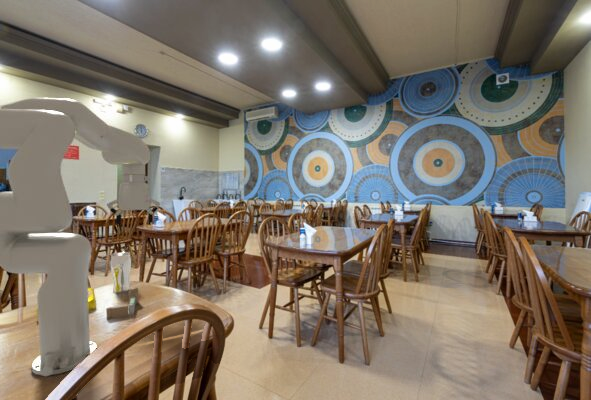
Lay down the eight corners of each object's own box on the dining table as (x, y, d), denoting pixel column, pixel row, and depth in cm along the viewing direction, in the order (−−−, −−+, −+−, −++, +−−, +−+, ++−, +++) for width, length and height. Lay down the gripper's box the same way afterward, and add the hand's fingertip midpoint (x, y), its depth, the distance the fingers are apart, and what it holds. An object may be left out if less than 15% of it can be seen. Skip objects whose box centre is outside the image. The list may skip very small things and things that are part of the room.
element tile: (95, 312, 96) (95, 298, 96) (36, 325, 87) (35, 310, 87) (94, 297, 108) (93, 285, 108) (41, 308, 99) (40, 294, 98)
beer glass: (107, 291, 112) (106, 255, 112) (123, 286, 119) (122, 251, 118) (119, 294, 110) (118, 256, 109) (135, 288, 116) (134, 252, 115)
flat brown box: (172, 317, 92) (172, 306, 92) (102, 330, 83) (102, 318, 83) (169, 296, 109) (169, 286, 109) (111, 305, 100) (110, 295, 100)
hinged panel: (137, 311, 94) (136, 295, 94) (126, 313, 93) (126, 297, 93) (138, 301, 103) (138, 286, 102) (129, 302, 101) (129, 287, 101)
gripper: (159, 180, 112) (160, 222, 113) (107, 179, 104) (109, 225, 105) (159, 179, 105) (160, 225, 106) (104, 179, 97) (106, 228, 98)
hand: (135, 225), depth 106 cm, fingers open, 9 cm apart
